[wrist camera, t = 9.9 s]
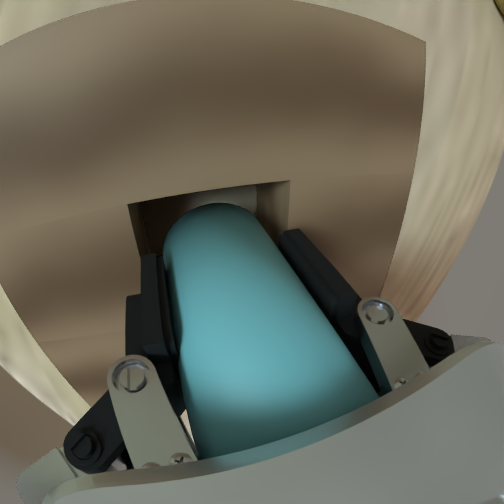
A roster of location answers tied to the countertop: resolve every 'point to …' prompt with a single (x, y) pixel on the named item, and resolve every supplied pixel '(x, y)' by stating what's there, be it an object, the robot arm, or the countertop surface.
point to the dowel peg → (250, 337)
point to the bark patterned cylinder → (500, 5)
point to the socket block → (193, 149)
